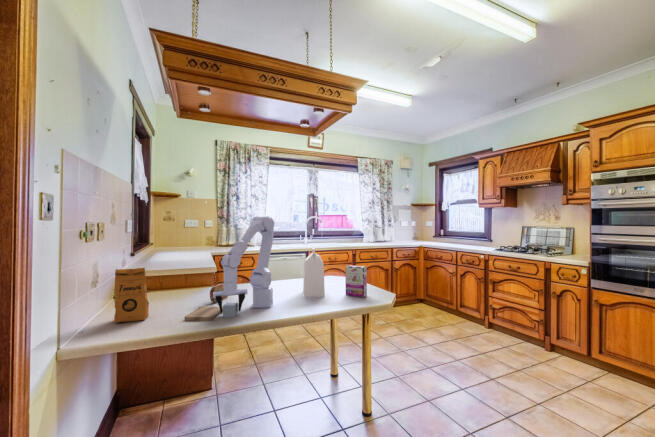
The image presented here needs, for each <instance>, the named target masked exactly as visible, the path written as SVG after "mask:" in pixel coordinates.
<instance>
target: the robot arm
mask: <svg viewBox="0 0 655 437" xmlns="http://www.w3.org/2000/svg"><path fill="white" fill-rule="evenodd" d="M275 223H276V222H275V221H274V219H273V218H272V216H268V215H267V216H257V215H256V216H254V217H253V218H252V219H251V221H250V223H249V226H248V227H247V230H246V231H245V233H244V234H243V236H242V238H241V239H240V240H237V241H235V242H234V243H233V246H232V247H231V249H230V250H228V251H227V253H226V254H224V255H223V256H222V258H221V260H220V264H221V266H222V270H223V283H224V291H220V292H213V298H216V301H217V302H216V303H217V305H218V307H219V308H220V313H221V314H220V315H223V312H222V307H223V300H222V297H223V296H228V297H231V296H238V312H241V310H242V305H243V303H244V300H245V298H246V295H248V289H247V288H246V289H245V288H243V289H241V288H239V289H238V267H239V265H241V260H242V256H243V255H244V254H245V253H246V251H247V249H248V244H249V243H250V241H251V240H252V239H253V238H254V236H255V235H256V234H257V233H259V234H261V236H262V237H261V242H260V248H259V254H258V258H257V263H256V267H255V268H254V269H253V270H252V273H251V275H250V277H249V284H250V285H251V286H252V304H251V305H250V309H256V308H257V309H258V308H260V309H262V308H263V309H264V308H265V309H266V308H267V309H268V308H270V309H271V307H272V305H273V303H274V301H273V299H274V298H273V297H274V294H273V293H274V292H273V291H274V290H273V289H274V288H273V287H270V285H271V284H272V278H271V277H272V272H271V271H270V269H269V265H270V264H269V263H270V259H271V254H272V253H271V252H272V248H273V243H274V241H273V240H274V235H275V232H274V230H275V228H274V227H275Z"/></svg>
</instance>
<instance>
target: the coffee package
mask: <svg viewBox="0 0 655 437" xmlns="http://www.w3.org/2000/svg"><path fill="white" fill-rule="evenodd" d="M114 271H115V273H114V274H115V276H114V288H113V292H114V309H115V313H114V317H113V322H114V323H126V322H127V323H128V322H137V321H139V322H140V321H145V320H146V319H147V318H148V317H149V316H150V315H149V312H150V311H149V309H150V308H149V302H150V301H149V300H148V294H147V293H148V291H147V288H148V286H147V278H146V277H147V276H146V273H147V272H146V268H145V267H138V268H137V267H136V268H120V269H119V268H118V269H115V270H114Z"/></svg>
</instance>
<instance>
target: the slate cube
mask: <svg viewBox="0 0 655 437" xmlns="http://www.w3.org/2000/svg"><path fill="white" fill-rule="evenodd" d="M238 305H239V302H225V303H224V304H222V307H223V312H222V318H234V317H235V318H236V317H237V315H238V314H239V310H238Z"/></svg>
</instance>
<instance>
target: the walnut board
mask: <svg viewBox="0 0 655 437" xmlns="http://www.w3.org/2000/svg"><path fill="white" fill-rule="evenodd" d="M222 313H223V306H222ZM221 315H222V314H221V313H220V308H219V306H199V307H197V308H195V309H194V310H193V311H191V312H190V313H189V314H187V315H186V316H184V321H188V322H189V321H190V322H191V321H193V322H195V321H196V322H197V321H198V322H199V321H201V322H202V321H204V322H205V321H206V322H207V321H209V322H210V321H211V322H212V321H214V320H215V319H217V318H218V317H219V316H221Z"/></svg>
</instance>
